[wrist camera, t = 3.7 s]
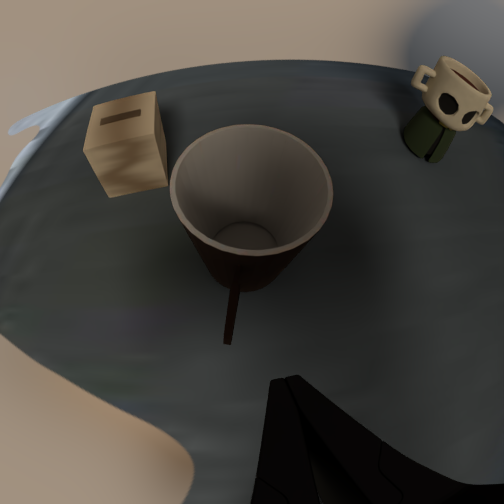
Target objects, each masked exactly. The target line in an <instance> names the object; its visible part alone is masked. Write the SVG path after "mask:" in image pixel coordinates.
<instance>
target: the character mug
mask: <svg viewBox="0 0 504 504" xmlns="http://www.w3.org/2000/svg"><path fill="white" fill-rule="evenodd" d="M424 74H427V75H429V76H430V77H429V79H428V81H427V83H426V85H424V84H422V83H421V80H422V78H423V76H424ZM411 85H412V86H413V87H414V88H416V89H418V90H420V91H422V100H423V102H424V103H425V106H423V107H422V108H421V109H420V110H419V111H418V112H417V113H416V115H415V116H414V117H413V118H412V119H411V120H410V122H409V123H408V124H407V126H406V127H405V129H404V133H403V134H404V138H405V142H406V144H407V145H408V146H409V148H410V149H411V150H412V151H413V152H414V153H415V154H416V155H417V156H419V157H420V158H423V157H424V156H425V154H429V155H432V156H431V158H430V159H429V162H431V163H437V162H439V161H440V160H441V159H442V158H443V156H444V154H445V153H446V151H447V150H448V148H449V146H450V144H451V142H452V140H453V138H454V136H455V134H456V131H465V130H468V129H469V128H470V127H472V126H473V124H474V123H475V121H476V122H477V123H479V124H481V125H483V124H484V123H485V122H486V121H487V119H488V118H489V117H490V115H491V114H492V112H493V107H492V106H491V105H490V104H488V101H489V100H490V98H491V96H492V94H491V92H490V90H489V88H488V87H487V86H486V84H485V83H484V82H483V81H482V80H481V79H480V78H479V77H478V76H477V75H476V74H474V73H473V72H472V71H471V70H470V69H469V68H467V67H466V66H464V65H462V64H461V63H460V62H458V61H456V60H454V59H452V58H450V57H447V56H441V57H440V59H439V60H438V62H437V64H436V66H435V68H434V70H432V69H430V68H429V67H427V66H424V65H420V66H419V67H418V69H417V71H416V73H415V75H414V77H413V79H412V81H411ZM484 109H485V110H484ZM483 110H484V112H483ZM482 112H483V113H482ZM481 113H482V114H481ZM480 115H481V116H480Z"/></svg>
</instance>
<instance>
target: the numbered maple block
mask: <svg viewBox="0 0 504 504" xmlns="http://www.w3.org/2000/svg"><path fill="white" fill-rule="evenodd" d="M83 151H84V153H85V155H86V157H87V159H88V161H89V163H90V164H91V166H92V168H93V170H94V172H95V174H96V175H97V177H98V179H99V181H100V183H101V184H102V186H103V188H104V190H105V191H106V193H107V195H108V196H109V198H111V197H116V196H120V195H125V194H130V193H134V192H139V191H144V190H150V189H155V188H160V187H166V186H168V173H167V153H166V140H165V135H164V131H163V126H162V121H161V117H160V112H159V107H158V102H157V97H156V92H155V91H153V92H148V93H143V94H139V95H134V96H130V97H125V98H121V99H117V100H113V101H110V102H106V103H102V104H99V105H95V106H94V107H93V111H92V114H91V118H90V122H89V126H88V130H87V135H86V139H85V144H84V148H83Z"/></svg>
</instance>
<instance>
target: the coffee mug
mask: <svg viewBox="0 0 504 504" xmlns="http://www.w3.org/2000/svg"><path fill="white" fill-rule="evenodd" d="M170 196H171V200H172V204H173V208H174V210H175V212H176V213H177V215H178V217H179V219H180V221H181V223H182V224H183V226H184V228H185V230H186V232H187V233H188V235H189V237H190V239H191V240H192V242H193V244H194V246H195V247H196V249H197V251H198V253H199V254H200V256H201V258H202V260H203V261H204V263H205V265H206V266H207V268H208V270H209V272H210V273H211V275H212V276H213V277H214V279H215V280H216V281H217V282H219V283H220V284H221V285H223V286H224V287H226V288H228V289H230V295H229V302H228V309H227V316H226V323H225V330H224V342H223V343H224V344H228V345H231V341H232V335H233V329H234V323H235V317H236V312H237V306H238V300H239V294H240V292H249V291H255V290H258V289H261V288H263V287H265V286H267V285H268V284H269V283H271V282H272V281H273V280H274V279H275V278H276V277H277V276H278V275H279V274H280V272H281V271H282V270H283V269H284V268H285V267H286V266H287V265H288V264H289V263H290V262H291V261H292V260H293V258H294V257H295V256H296V255H297V254H298V253H299V252H300V251H301V250H302V249H303V248H304V246H305V245H306V244H307V243H308V242H309V241H310V240H311V239H312V238H313V237H314V235H315V234H316V233H317V232H318V231H319V230H320V228H321V227H322V226H323V224H324V223H325V221H326V220H327V218H328V215H329V213H330V210H331V207H332V201H333V186H332V180H331V177H330V174H329V172H328V169H327V167H326V166H325V164H324V162H323V161H322V159H321V158H320V157H319V155H318V154H317V153H316V152H315V151H314V150H313V149H312V148H311V147H310V146H308V145H307V144H306V143H305V142H303V141H302V140H301V139H299V138H297V137H295V136H293V135H292V134H290V133H288V132H285V131H282V130H280V129H277V128H273V127H268V126H264V125H253V124H243V125H232V126H228V127H223V128H219V129H217V130H214V131H211V132H209V133H207V134H205V135H203V136H202V137H200V138H198V139H197V140H195V141H194V142H193V143H192V144H191V145H189V146H188V147H187V148H186V149H185V150H184V152H183V153H182V154H181V155H180V157H179V158H178V160H177V162H176V164H175V166H174V168H173V171H172V175H171V179H170Z"/></svg>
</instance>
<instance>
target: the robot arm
mask: <svg viewBox="0 0 504 504" xmlns="http://www.w3.org/2000/svg"><path fill="white" fill-rule="evenodd" d="M317 491H318V493H319V495H320V497H321V500H322V502H323V504H504V484H488V485H472V484H465V483H461V482H458V481H455V480H453V479H450V478H448V477H446V476H444V475H441V474H439V473H437V472H435V471H433V470H431V469H429V468H427V467H425V466H423V465H421V464H419V463H417V462H415V461H413V460H411V459H410V458H408V457H406V456H405V455H403V454H401V453H400V452H398V451H397V450H395V449H394V448H392V447H391V446H390V445H388V444H387V443H386V442H384V441H382V440H381V439H380V438H378V437H377V436H376V435H374V434H373V433H372V432H370V431H369V430H368V429H366V428H365V427H364V426H362V425H361V424H360V423H358V422H357V421H356V420H354V419H353V418H352V417H351V416H349V415H348V414H347V413H345V412H344V411H343V410H342V409H340V408H339V407H338V406H336V405H335V404H334V403H333V402H331V401H330V400H329V399H328V398H326V397H325V396H324V395H323V394H321V393H320V392H319V391H318V390H317V389H315V388H314V387H313V386H312V385H310V384H309V383H308V382H307V381H306V380H304V379H303V378H302V377H301V376H299V375H293V376H288V377H286V378H285V379H284V378H279V379H274V380H271V381H270V385H269V393H268V400H267V407H266V414H265V421H264V428H263V435H262V441H261V448H260V454H259V461H258V467H257V473H256V478H255V484H254V490H253V494H252V499H251V503H250V504H320V502H319V497H318V493H317Z"/></svg>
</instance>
